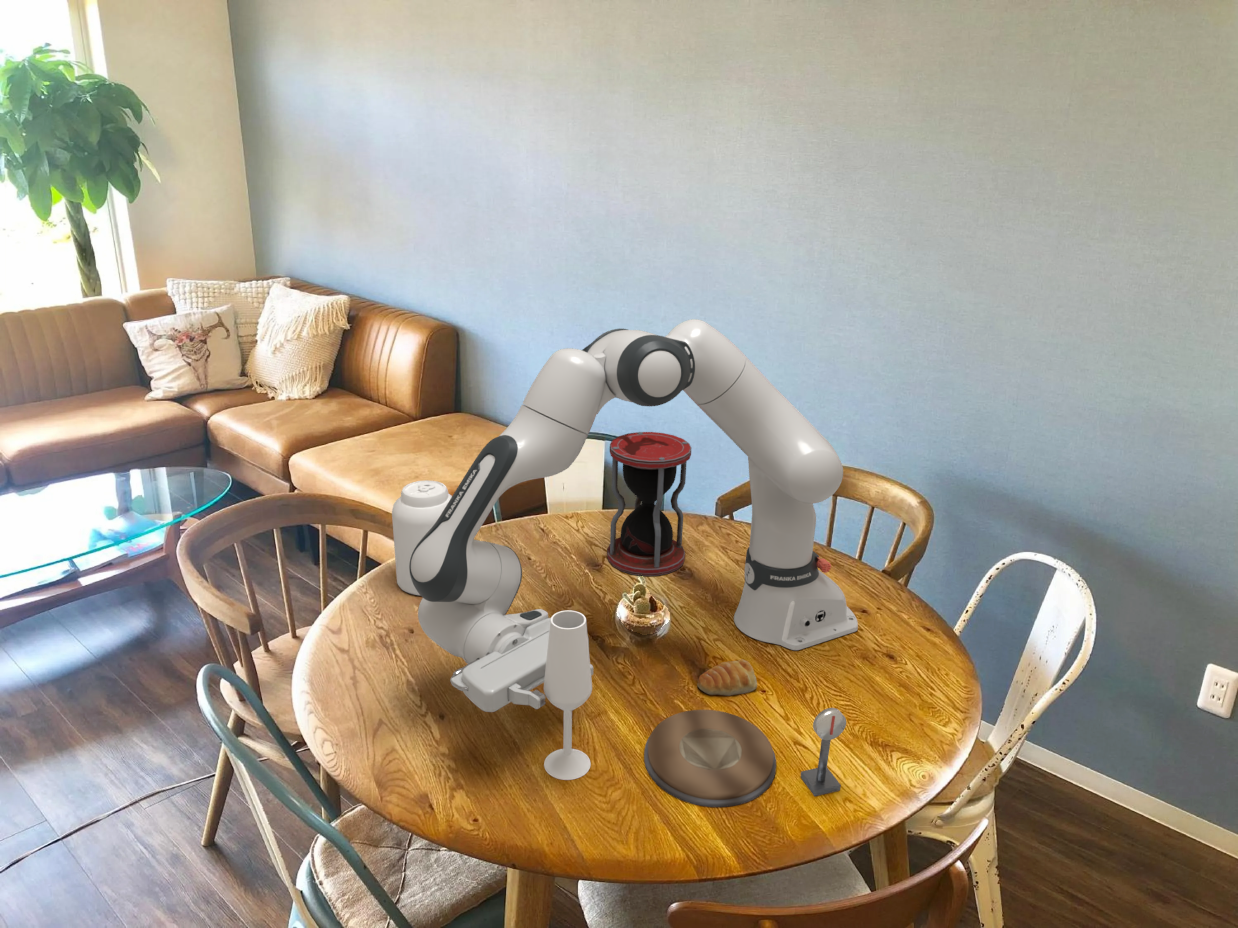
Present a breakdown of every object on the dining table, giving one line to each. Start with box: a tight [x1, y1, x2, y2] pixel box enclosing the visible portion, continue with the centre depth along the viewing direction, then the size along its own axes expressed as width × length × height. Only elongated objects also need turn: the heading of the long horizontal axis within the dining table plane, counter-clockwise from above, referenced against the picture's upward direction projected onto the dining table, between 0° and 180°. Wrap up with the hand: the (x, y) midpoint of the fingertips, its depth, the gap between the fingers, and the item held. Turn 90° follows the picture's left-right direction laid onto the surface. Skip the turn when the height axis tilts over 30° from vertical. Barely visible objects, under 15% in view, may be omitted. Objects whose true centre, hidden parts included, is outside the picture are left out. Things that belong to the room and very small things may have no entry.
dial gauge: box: [800, 707, 847, 797], centre depth 127 cm, size 4×4×13 cm
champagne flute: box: [543, 609, 593, 781], centre depth 127 cm, size 7×7×24 cm
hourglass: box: [606, 431, 692, 577], centre depth 186 cm, size 16×16×25 cm
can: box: [391, 479, 453, 596], centre depth 175 cm, size 12×12×20 cm
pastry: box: [696, 658, 758, 697], centre depth 150 cm, size 9×7×4 cm
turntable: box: [643, 709, 777, 808], centre depth 133 cm, size 19×19×2 cm
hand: (566, 687), depth 127 cm, fingers open, 8 cm apart
